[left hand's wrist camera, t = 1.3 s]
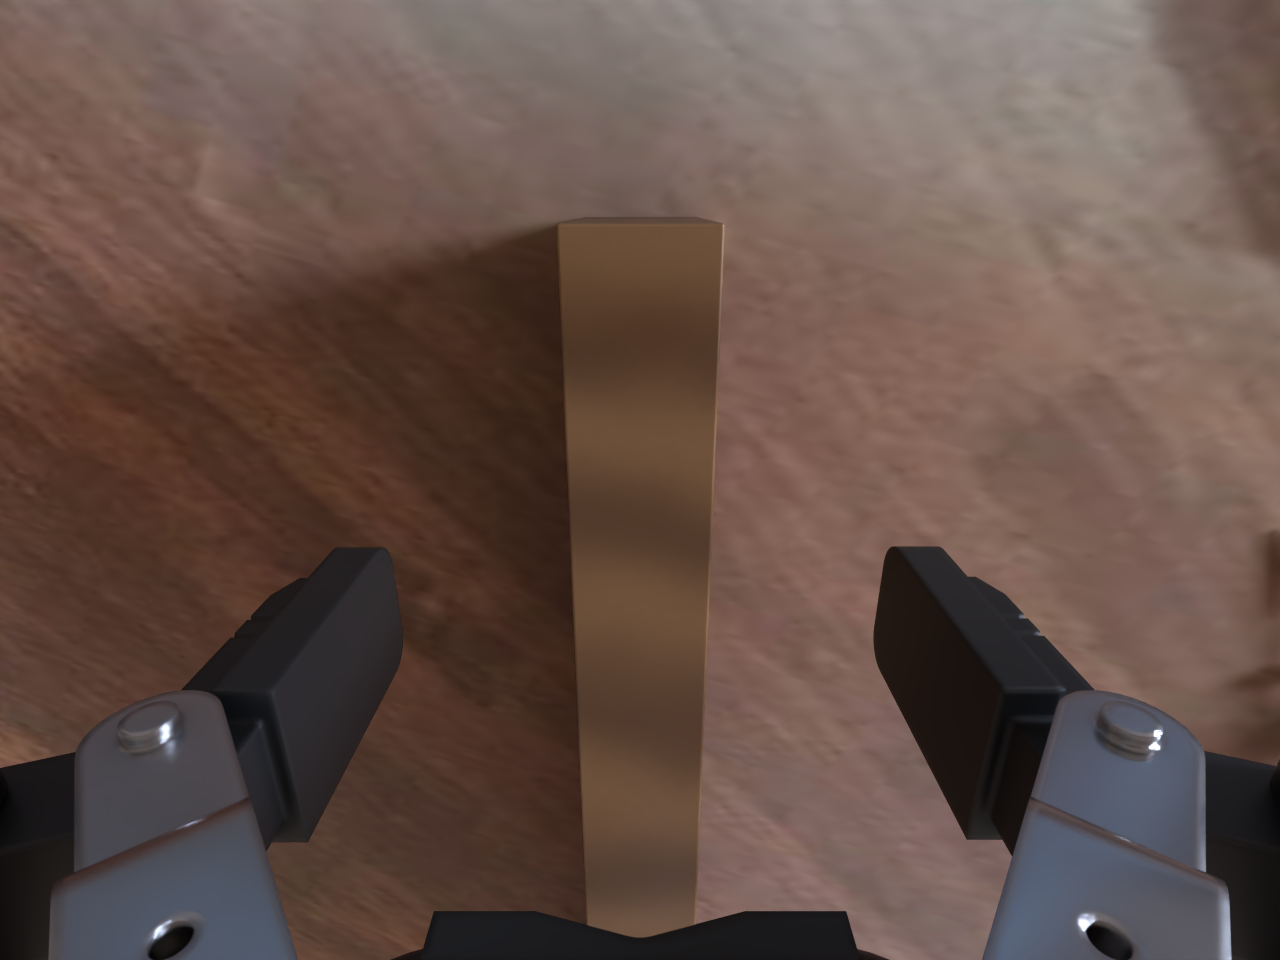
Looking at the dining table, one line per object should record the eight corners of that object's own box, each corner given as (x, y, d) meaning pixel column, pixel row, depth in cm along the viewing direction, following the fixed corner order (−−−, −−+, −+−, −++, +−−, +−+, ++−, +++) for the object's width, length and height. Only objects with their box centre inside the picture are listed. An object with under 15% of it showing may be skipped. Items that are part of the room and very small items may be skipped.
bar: (581, 217, 26) (555, 223, 18) (698, 217, 26) (725, 223, 18) (608, 1103, 47) (602, 1291, 39) (673, 1103, 47) (680, 1291, 39)
